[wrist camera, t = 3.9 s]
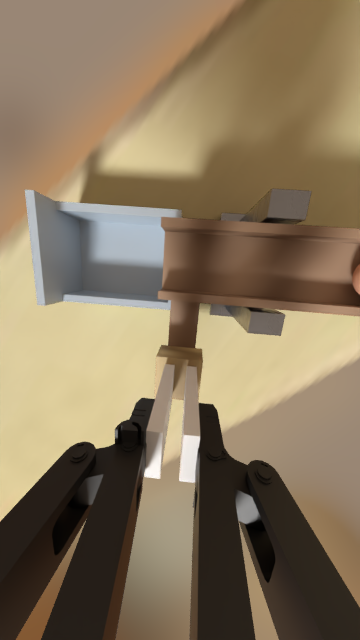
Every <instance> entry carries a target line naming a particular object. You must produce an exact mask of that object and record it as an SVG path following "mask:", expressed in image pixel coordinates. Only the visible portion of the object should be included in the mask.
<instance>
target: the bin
mask: <svg viewBox="0 0 360 640" xmlns="http://www.w3.org/2000/svg"><path fill="white" fill-rule="evenodd" d="M25 195H26V204H27V214H28V223H29V232H30V241H31V250H32V259H33V268H34V278H35V287H36V296H37V305H49V304H54V303H58V302H62V301H67V302H79V303H91V304H103V305H116V306H128V307H140V308H152V309H164V310H170V309H171V300H163V299H158V291H159V290H161V289H162V279H163V259H164V239H165V231H164V230H163V228H162V227H161V217H174V218H183V216H182V210H178V209H163V208H148V207H133V206H118V205H104V204H89V203H74V202H59V201H54V200H52V199H50V198H48V197H46V196H44V195H42V194H40V193H38V192H36V191H34V190H25Z"/></svg>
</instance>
